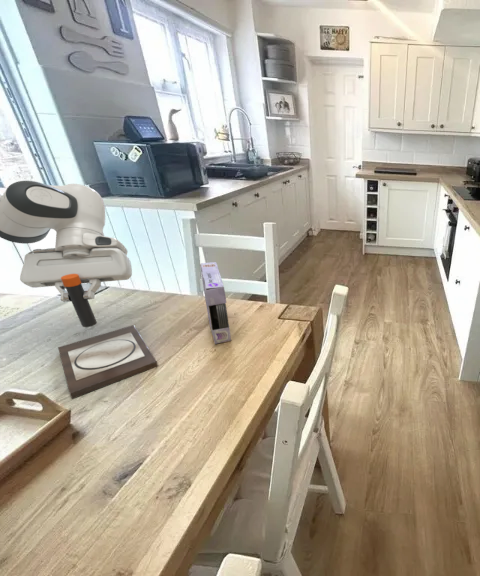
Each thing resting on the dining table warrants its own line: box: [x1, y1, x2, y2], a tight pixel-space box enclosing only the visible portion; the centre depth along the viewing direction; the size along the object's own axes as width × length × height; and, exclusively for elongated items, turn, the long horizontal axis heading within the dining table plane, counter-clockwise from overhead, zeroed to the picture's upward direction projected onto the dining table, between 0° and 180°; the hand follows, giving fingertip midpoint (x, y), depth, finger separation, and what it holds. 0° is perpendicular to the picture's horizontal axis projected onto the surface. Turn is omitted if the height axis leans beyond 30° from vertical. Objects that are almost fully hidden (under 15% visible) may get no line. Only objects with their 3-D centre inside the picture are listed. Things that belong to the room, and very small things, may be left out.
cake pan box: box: [199, 261, 232, 345], centre depth 93 cm, size 19×5×18 cm, turn 31°
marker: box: [61, 274, 98, 328], centre depth 77 cm, size 3×3×13 cm
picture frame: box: [57, 324, 159, 399], centre depth 81 cm, size 22×16×2 cm
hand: (77, 299), depth 76 cm, fingers closed on marker, 3 cm apart
